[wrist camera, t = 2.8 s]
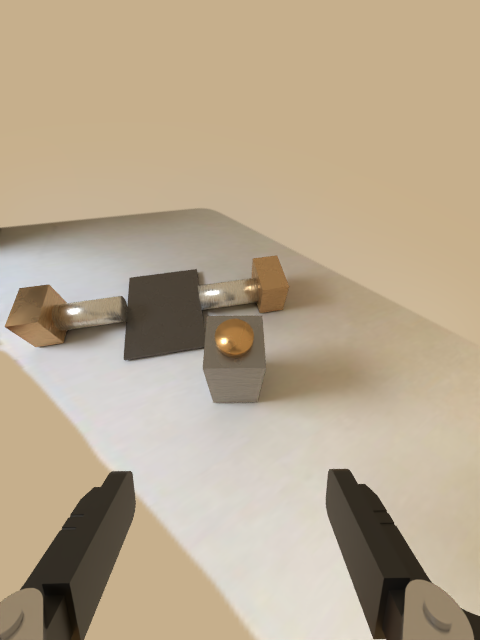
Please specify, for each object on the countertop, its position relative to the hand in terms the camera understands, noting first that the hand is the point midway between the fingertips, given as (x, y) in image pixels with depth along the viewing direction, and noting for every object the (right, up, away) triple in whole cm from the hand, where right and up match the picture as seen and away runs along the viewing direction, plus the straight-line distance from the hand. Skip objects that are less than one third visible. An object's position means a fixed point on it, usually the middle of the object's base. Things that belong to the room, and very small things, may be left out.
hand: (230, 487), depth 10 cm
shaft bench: (-9, +8, +21) cm, 24 cm away
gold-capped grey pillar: (0, 0, +16) cm, 16 cm away
